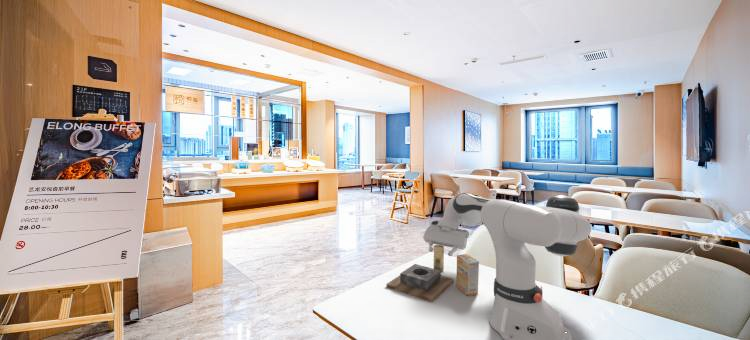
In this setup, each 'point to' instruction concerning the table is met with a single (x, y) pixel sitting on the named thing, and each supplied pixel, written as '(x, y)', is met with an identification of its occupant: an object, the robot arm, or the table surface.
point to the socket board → (421, 292)
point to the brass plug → (439, 257)
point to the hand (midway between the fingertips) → (439, 253)
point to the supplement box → (467, 274)
